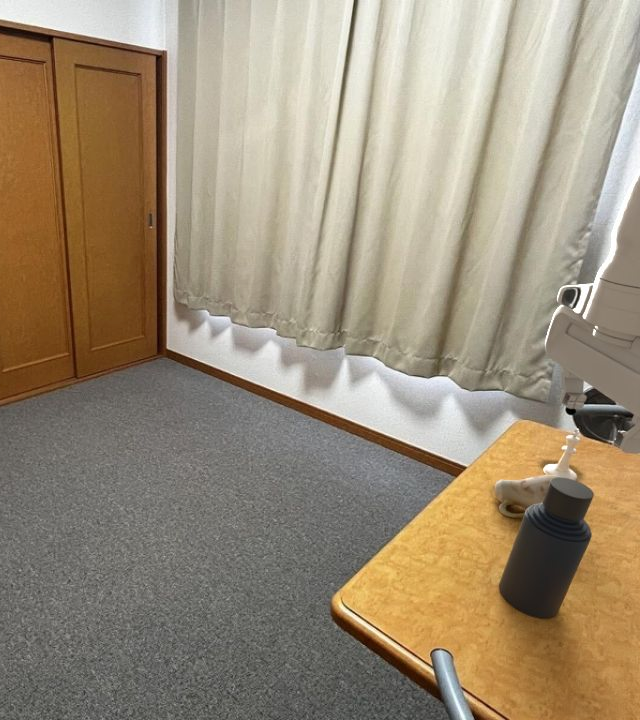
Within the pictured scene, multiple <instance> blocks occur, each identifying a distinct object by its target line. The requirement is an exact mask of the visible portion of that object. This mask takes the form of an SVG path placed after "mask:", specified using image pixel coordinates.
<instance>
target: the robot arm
mask: <svg viewBox="0 0 640 720" xmlns="http://www.w3.org/2000/svg"><path fill="white" fill-rule="evenodd" d="M593 282H594V283H586V284H585V283H584V284H574V285H573V284H572V285H564V286H562V287H561V288H559V291H558V294H557V297H556V298H557V299H556V301H557V303H558V304H559V306H558V307H557V308H556V310H555V312H554V313H553V316H552V318H551V321H550V325H549V327H548V330H547V335H546V337H545V342H544V349H545V354H546V357H547V358H549V359H550V360H552V361H553V362H555V363H556V364H557V365H559V366H560V367H562V370H561V373H560V378H561V387H562V393H561V395H560V399H559V402H560V403H561V404H562V405H563V406H564V407H566V408H567V409H569V410H573V409H574V410H581V409H583V408H584V406H585V402H586V401H587V398H588V396H587V395H586V394H584V384H585V383H586V384H588V385H589V386H590V387H592V388H594V389H595V390H596V391H598V392H599V393H601V394H603V395H604V396H606V397H607V398H609V399H610V400H611V401H613V402H614V403H616V404H618V405H619V406H620V407H622V408H624V409H625V410H627V411H628V412H629V413H631V414H632V415H633V416H632V419H631V421H630V422H631V424H633V425H634V426H632V427H631V428H630V429H628V431H626V430H618V431H617V432H616V435H615V439H613V445H615V446H616V447H617V448H618V449H619V450H621V451H622V452H623V453H625V454H634V455H638V454H640V169H638V172H637V174H636V175H635V177H634V179H633V181H632V183H631V185H630V186H629V188H628V190H627V193H626V196H625V197H624V200H623V202H622V204H621V207H620V210H619V212H618V215H617V217H616V220H615V223H614V226H613V229H612V232H611V248H610V252H609V255H608V256H607V258H606V260H605V262H604V263H602V266H600V268H599V270H598V271H597V274H596V277H595V280H594V281H593Z"/></svg>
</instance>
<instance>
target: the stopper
mask: <svg viewBox="0 0 640 720" xmlns="http://www.w3.org/2000/svg"><path fill="white" fill-rule="evenodd" d="M594 496H595V494H594V491H593V490H592V489H591V488H590V487H589V486H587V485H586V484H584V483H583V482H580V481H578V480H577V481H575V480H572V479H569V478H563V477H556V478H553V479H551V481H550V484H549V486H548V489H547V491H546V494H545V497H544V499H543V505H544V507H545V508H546V509H547V510H548V511H550V512H551V513H553V514H554V515H556V516H559V517H561V518H564V519H568V520H574V521H578V520H582V519H584V520H585V517H586V515H587V512H588V510H589V508H590V505H591V504H592V501H593V499H594Z"/></svg>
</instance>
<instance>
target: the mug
mask: <svg viewBox="0 0 640 720" xmlns="http://www.w3.org/2000/svg"><path fill="white" fill-rule="evenodd" d="M556 477H561V476H557V475H546V474H539V475H535V476H531V477H527V478H523V479H522V478H521V479H499V480H498V481H496V483H495V485H494V496H495V498H496V499H497V500H498V501H499V502H500V504H499V507H498V511H499V512H500V513H501V514H502V515H504V516H506V517H508V518H512V519H523V517H524V514H525V512H521V513H514V512H513V513H512V512H510V511H508V510H507V507H508V506H517V507H521V508H523V509H525V510H527V509H528V508H529V507H530V506H532V505H534V504H539V503H543V499H544V497H545V494H546V491H547V489H548V486H549V484H550V481H551V479H553V478H556Z"/></svg>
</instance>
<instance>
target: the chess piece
mask: <svg viewBox="0 0 640 720" xmlns="http://www.w3.org/2000/svg"><path fill="white" fill-rule="evenodd" d="M579 433H580V429H579V428H577V427H575V429H574V431H573V432H572V434H571V435H570V434H569V435H566V437H565V440H566V445H563V446H562V447H561V450H562V451H563V454H562V456H561V457H560V459H559V461H558V462H557V463H555V464H554V463H550V464H546V465H545V466H544V467H543V473H544V475H557V476H561V477H563V478H569V479H572V480H575V481H578V480H577V479H578V474H577V473H576V472H575V471H574V470H572V469H571V468H570V462H571V457H572V454H573V455H574V454H577V452H578V451H577V449H576V447H577V446H578V444H580V443H581V438H579V437H578V434H579Z"/></svg>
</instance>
